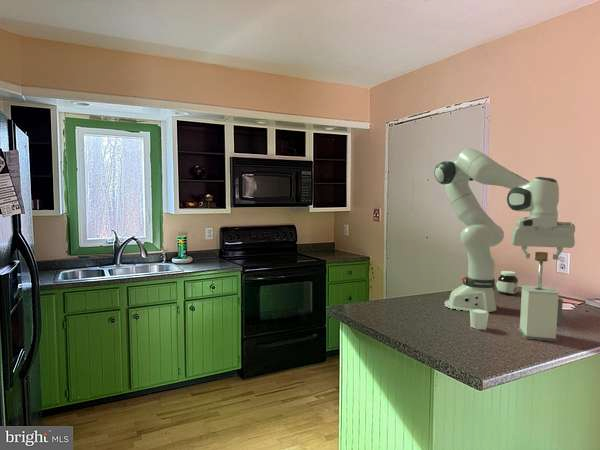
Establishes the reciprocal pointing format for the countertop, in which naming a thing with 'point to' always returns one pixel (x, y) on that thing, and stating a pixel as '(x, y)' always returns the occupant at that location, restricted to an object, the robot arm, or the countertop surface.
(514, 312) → the countertop surface
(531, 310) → the block
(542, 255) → the plunger
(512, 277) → the spread jar
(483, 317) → the shot glass
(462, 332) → the countertop surface
